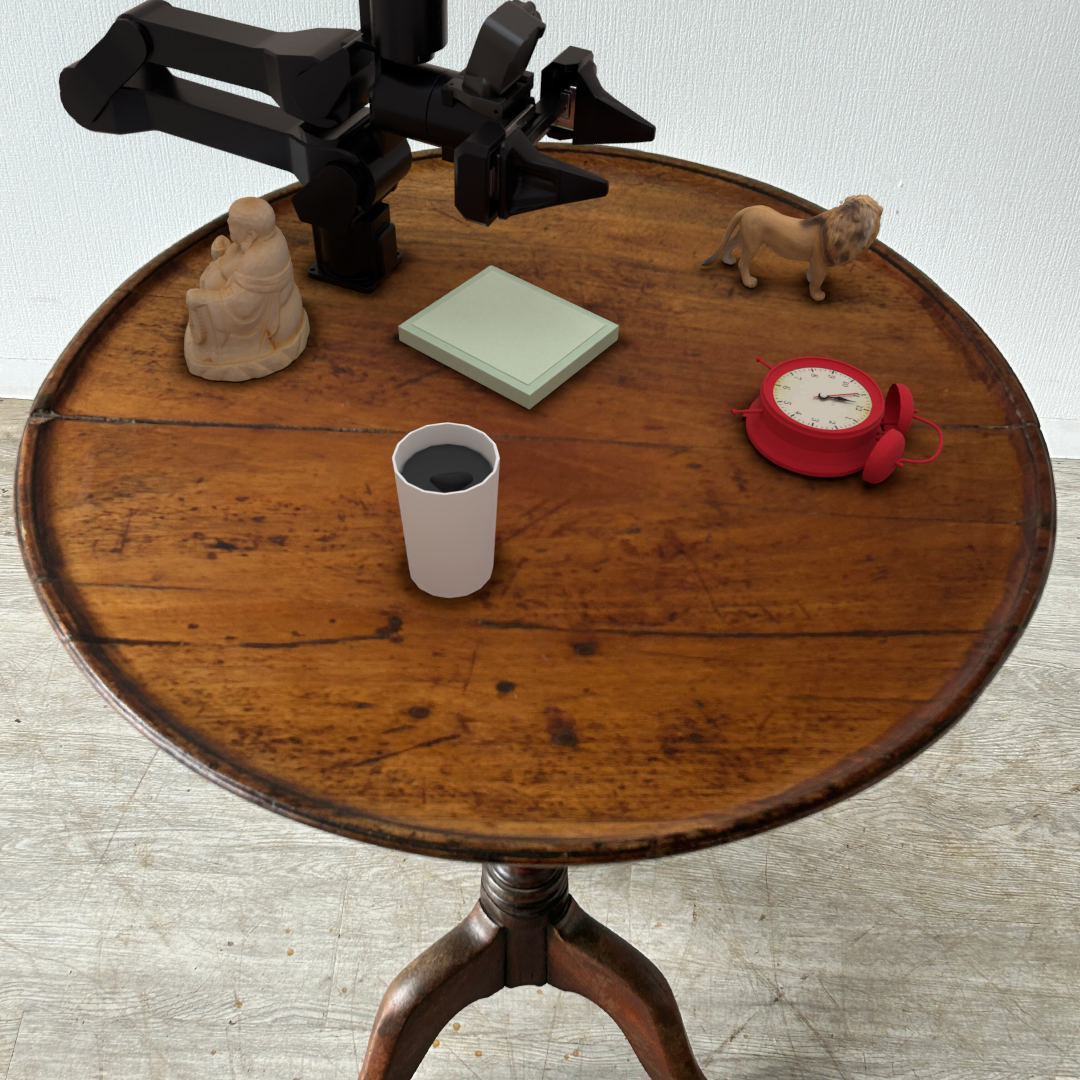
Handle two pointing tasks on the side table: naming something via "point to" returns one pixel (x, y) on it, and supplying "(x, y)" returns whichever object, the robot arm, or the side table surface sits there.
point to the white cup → (448, 506)
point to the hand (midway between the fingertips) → (632, 160)
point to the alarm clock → (831, 420)
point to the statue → (246, 301)
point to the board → (509, 335)
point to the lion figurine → (803, 238)
